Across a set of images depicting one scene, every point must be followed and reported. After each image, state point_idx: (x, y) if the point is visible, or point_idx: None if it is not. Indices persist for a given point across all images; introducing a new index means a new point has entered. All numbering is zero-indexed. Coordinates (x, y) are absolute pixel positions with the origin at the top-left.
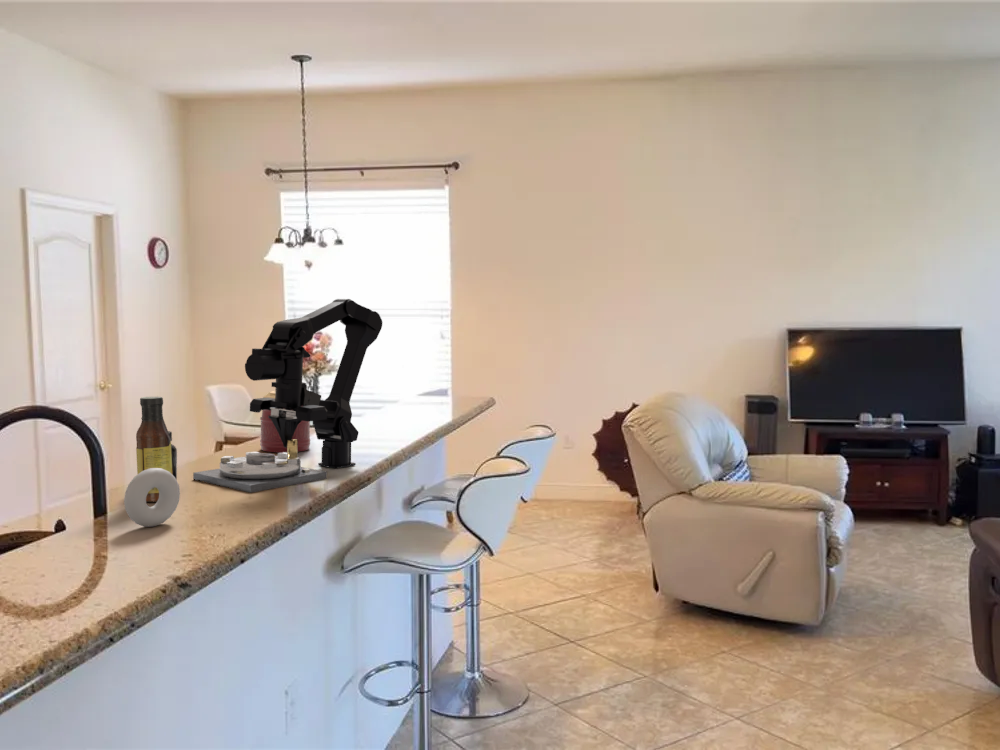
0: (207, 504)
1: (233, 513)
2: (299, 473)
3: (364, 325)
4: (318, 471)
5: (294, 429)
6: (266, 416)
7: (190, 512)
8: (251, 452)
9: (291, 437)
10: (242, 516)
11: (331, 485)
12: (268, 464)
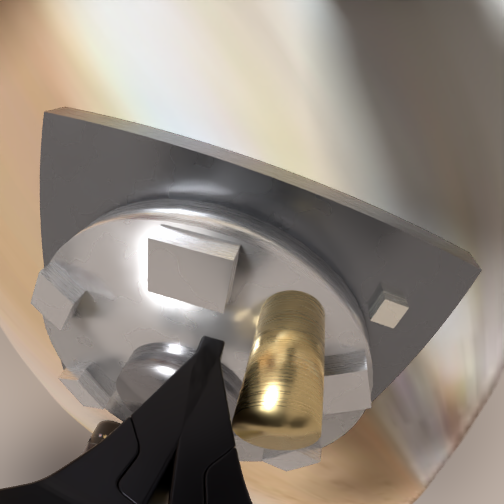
0: (278, 486)
1: (346, 499)
2: (371, 340)
3: None
4: (445, 275)
5: (241, 491)
6: None
7: (285, 501)
8: (45, 302)
9: (227, 412)
10: (365, 500)
11: (495, 344)
12: (297, 466)
